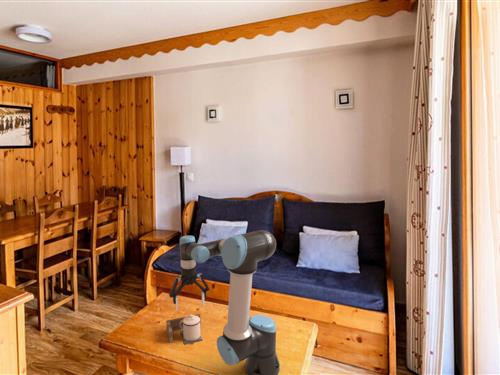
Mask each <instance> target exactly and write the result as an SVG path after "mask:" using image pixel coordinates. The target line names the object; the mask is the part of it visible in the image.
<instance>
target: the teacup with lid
mask: <svg viewBox="0 0 500 375" xmlns="http://www.w3.org/2000/svg"><path fill="white" fill-rule="evenodd" d="M195 315H196V314H189V315H187V317H186V316H184V317H185V318H184V319H183V320H182V321H180V327H181V329H182V330H183V336H184V339H185V340H188V341H194V340H197V339H198V338H199V337H200V336H201V325H200V321H201V317H200V318H199V317H198V316H195ZM182 322H183V326H182Z"/></svg>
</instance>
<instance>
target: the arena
mask: <svg viewBox="0 0 500 375" xmlns="http://www.w3.org/2000/svg"><path fill="white" fill-rule="evenodd" d="M194 315H195V316H198V317H199V318H200V319H201V313H197V314H194ZM187 316H188V315H187ZM187 316H182V317H178V318H172V319H168V320H165V321H166V323H165V324H166V326H165V327H166V333H167V338H168V341H169V344H171V343H173V342H174V339H173V338H174V335H173V332H176V331H179V332H180V335H181V336H180V337H181V338H182V341H183V344H184V345H185V346H186V345H189V344H193V343H197V342H202V341H203V338H202V337H201V335H200V337H199V338H198V339H197V340H194V341H188V340H185V339H184V336H183V330H182V329H181V327H180V321H182V320H183V319H184V318H185V317H187ZM201 324H202V322H201V321H200V326H201ZM182 326H183V322H182Z"/></svg>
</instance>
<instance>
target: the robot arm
mask: <svg viewBox="0 0 500 375" xmlns="http://www.w3.org/2000/svg"><path fill="white" fill-rule="evenodd" d="M276 250H277V240H276V238H275V236H274V234H272V233H271V232H269V231H268V230H264V229H263V230H255V231H250V232H247V233H246V232H245V233H239V234H235V235H232V236H228V237H227V238H220V239H215V240H213V241H206V242H203V243H196V238H195V236H194V235H184V236H181V237H180V238H179V253H180V277H177V276H175V277H174V282H173V284H172V287H171V288H170V291H169V294H168V297H169V298H172V302H173V304H174V305H175V306H174V307H175V310H176V311H178V310H179V306H178V305H179V303H178V302H179V301H178V295H179V294H180V292H181V291H182V289H184V287H185V286H190V285H194V284H195V285H196V286H197V287H198V288H199V289H200V290H201V304H202V306H205V302H206V301H205V299H206V298H207V292H208V291H210V287H209V286H208V284H207V282H206V280H205V278H204V276H203V273H202V272H200V273H198V274H197V266H196V265H197V263H200V264H201V263H206V262H207V261H208V259H211V258H214V257H217V256H221V258H222V259H221V261H222V264H224V266H225V267H226V270H227V271H228V272H229V274H230V276H229V277H230V278H229V288H228V289H229V293H228V305H227V306H228V308H227V310H228V311H227V323H225V325H224V326H223V328H222V330H223V331H222V335H220V336H218V337H216V346H217V351H218V353H219V356H220V357H221V360H222V361H223V362H224V363H225V364H226V365H228V366H233V365H236V364H239V363H240V362H243V361H244V360H246V361H245V365H244V366H245V367H244V368H245V372H246V374H247V375H278V374H279V373H280V369H281V366H280V365H281V364H280V360H279V358H278V354H277V351H276V350H277V348H276V346H277V343H276V342H277V328H276V325H277V324H276V322H275V320H274V319H273V318H272V317H270V316H267V315H263V314H255V315H252V316H250V310H251V301H252V300H251V298H252V285H253V275H254V274H255V273H256V272H257V269H258V263H259V262H261V261H264V260H267V259H269V258H270V257H272V256H273V254H274V253H275V251H276ZM198 279H200V280H201V283H202V284H203V285H201V284H200V282H198ZM178 283H180V284H179V285H178Z"/></svg>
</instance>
